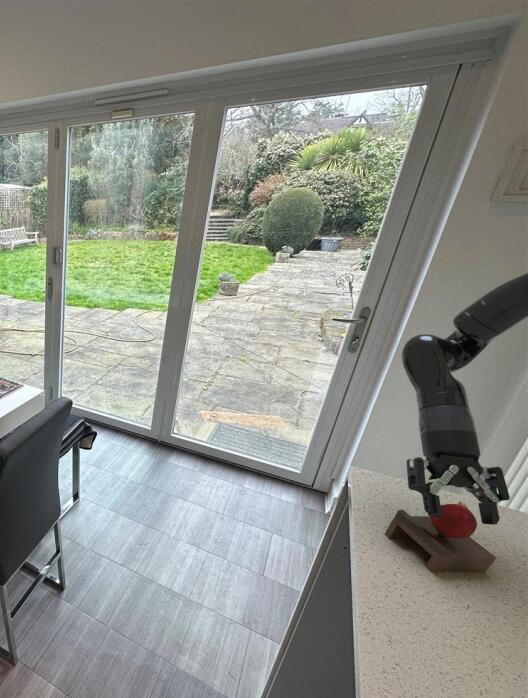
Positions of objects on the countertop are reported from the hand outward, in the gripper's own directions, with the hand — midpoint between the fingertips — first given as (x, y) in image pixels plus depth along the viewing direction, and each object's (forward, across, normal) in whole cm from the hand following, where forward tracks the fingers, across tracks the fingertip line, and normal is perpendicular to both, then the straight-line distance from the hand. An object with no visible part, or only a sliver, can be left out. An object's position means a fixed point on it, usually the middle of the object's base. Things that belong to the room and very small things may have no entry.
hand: (462, 520), depth 73 cm
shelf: (+6, 0, +8) cm, 10 cm away
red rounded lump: (+3, 0, +5) cm, 6 cm away
